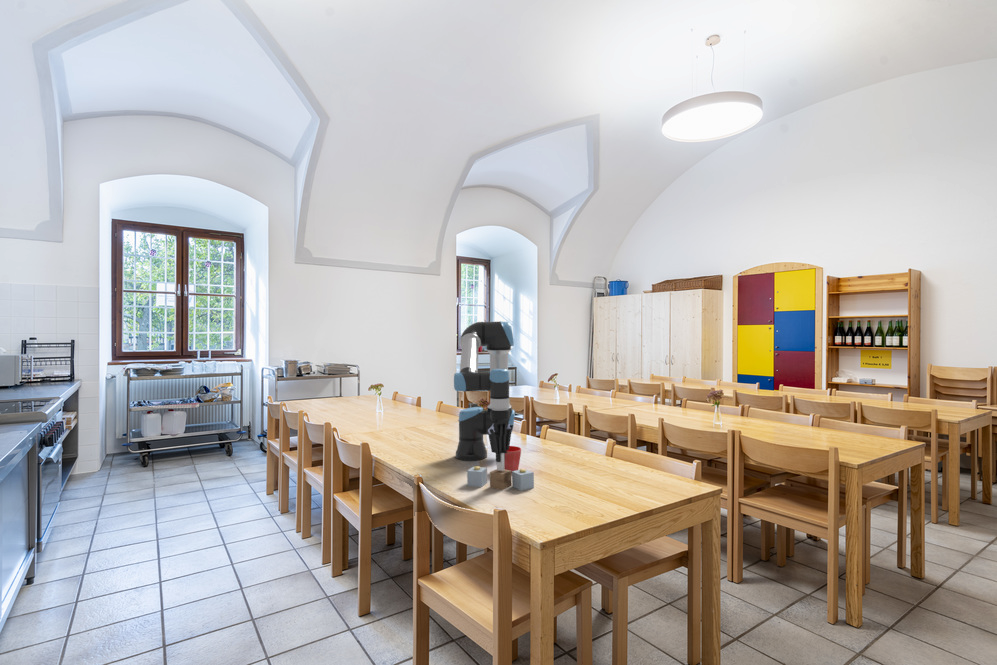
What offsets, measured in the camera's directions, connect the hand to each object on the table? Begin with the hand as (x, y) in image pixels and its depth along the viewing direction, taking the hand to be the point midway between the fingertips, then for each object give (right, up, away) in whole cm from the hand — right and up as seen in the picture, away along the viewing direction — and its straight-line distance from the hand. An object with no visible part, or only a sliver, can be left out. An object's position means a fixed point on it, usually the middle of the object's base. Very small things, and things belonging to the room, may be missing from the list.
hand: (500, 469), depth 194 cm
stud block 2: (+9, -7, -1) cm, 11 cm away
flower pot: (+4, -7, +21) cm, 23 cm away
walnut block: (0, -7, 0) cm, 7 cm away
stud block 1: (-9, -7, +3) cm, 12 cm away
